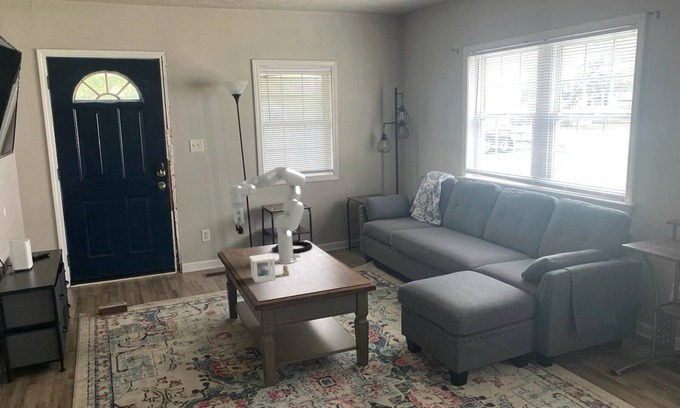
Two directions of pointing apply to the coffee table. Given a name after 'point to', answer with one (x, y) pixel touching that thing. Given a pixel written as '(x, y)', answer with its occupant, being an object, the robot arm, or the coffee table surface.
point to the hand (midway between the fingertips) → (239, 232)
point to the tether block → (285, 273)
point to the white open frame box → (269, 259)
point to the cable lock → (299, 250)
